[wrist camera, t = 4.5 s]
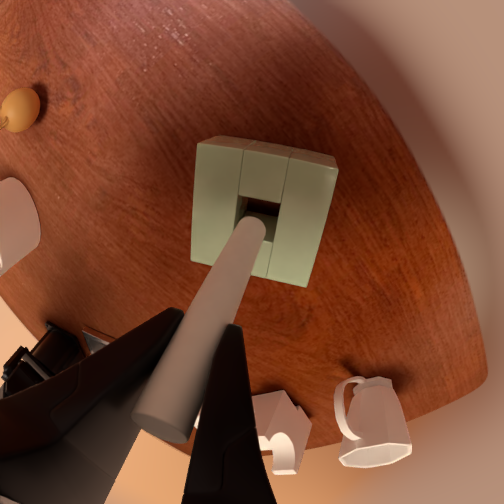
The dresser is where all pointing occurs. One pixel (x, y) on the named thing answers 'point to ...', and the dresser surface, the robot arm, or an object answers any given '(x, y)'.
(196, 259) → the pen stand
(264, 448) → the bracket
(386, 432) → the cup
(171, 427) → the stylus
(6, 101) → the figurine
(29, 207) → the cylinder with rectangular tab
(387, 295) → the dresser surface
